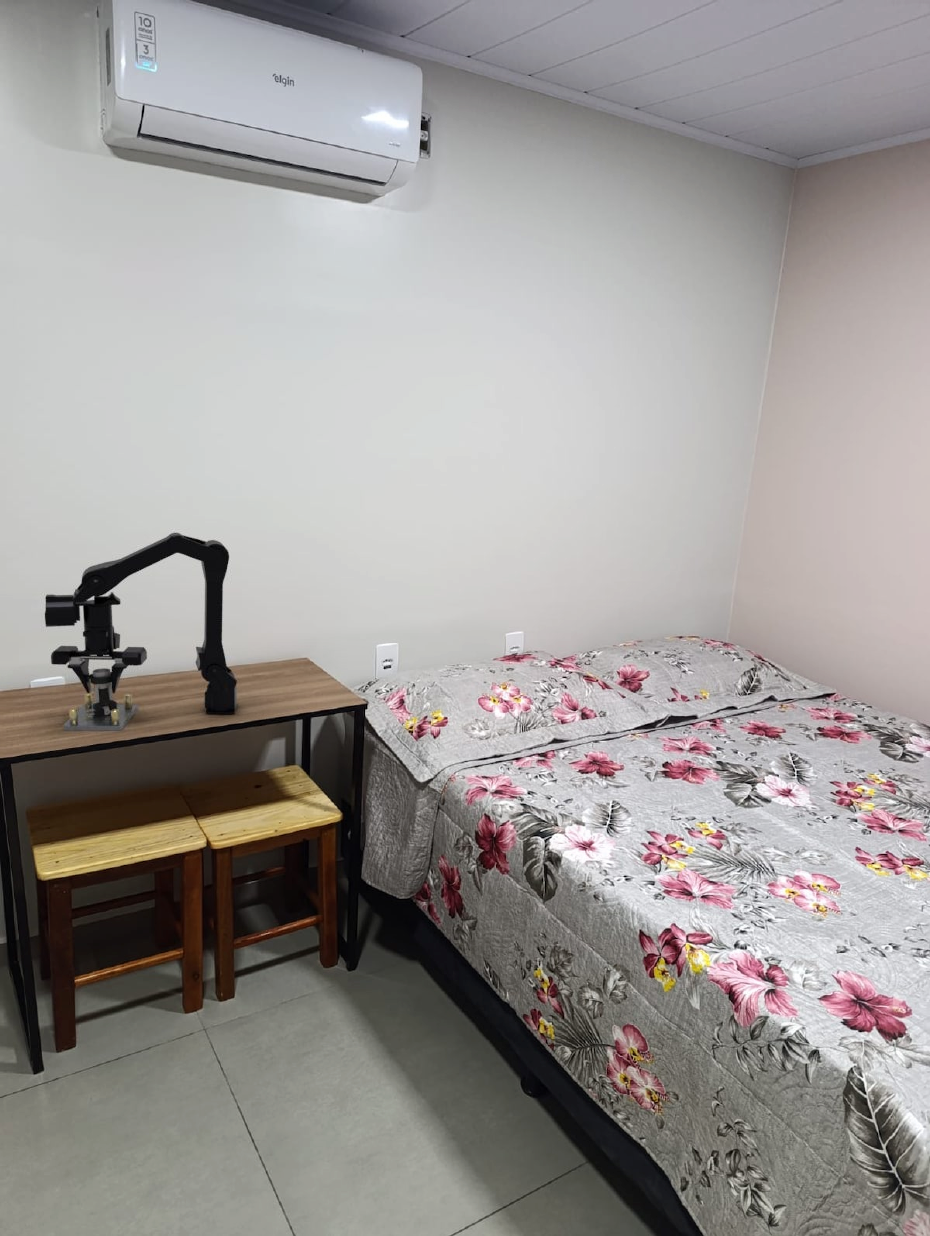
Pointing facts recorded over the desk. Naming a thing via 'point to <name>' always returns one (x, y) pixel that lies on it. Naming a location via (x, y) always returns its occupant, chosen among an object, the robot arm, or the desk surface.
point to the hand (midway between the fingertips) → (101, 692)
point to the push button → (102, 692)
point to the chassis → (103, 722)
